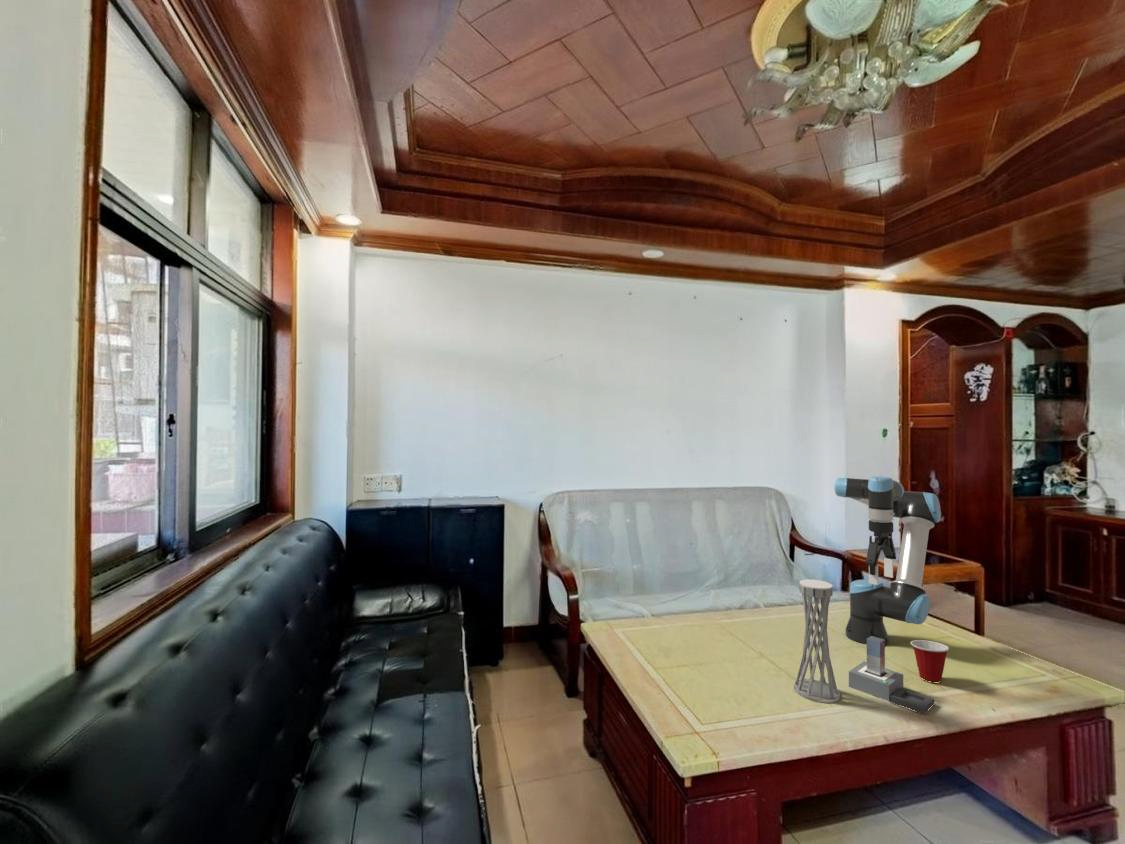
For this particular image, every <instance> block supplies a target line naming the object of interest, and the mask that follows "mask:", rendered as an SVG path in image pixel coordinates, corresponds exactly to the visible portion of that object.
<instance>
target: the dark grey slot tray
mask: <svg viewBox="0 0 1125 844" xmlns="http://www.w3.org/2000/svg"><path fill="white" fill-rule="evenodd" d="M890 702H893V703H895V704H894V705H896V704H898V705H901V706H904V707H907V708H910V709H912V710H915V711H917V712H920V713H922V714H921V715H923V714H925V713H926V712H927V711H928V709H929V708H930V707H931V706H932V705H933V704H934V705H935V698H934V697H931V696H927V695H925V694H922V693H918V692H917V691H913V690H910V689H908V688H905V687H903V688H902V687H901V688H900V689H898V690H897V691H896V692H895V693H894V694H892V695H891V696H890V701H889V703H890ZM893 703H892V704H893ZM898 705H897V706H898ZM901 706H900V707H901ZM904 707H903V708H904ZM912 710H911V711H912ZM917 712H916V713H917ZM928 712H929V711H928ZM928 712H927V713H928ZM920 713H919V714H920ZM927 713H926V714H927ZM926 714H925V715H926Z"/></svg>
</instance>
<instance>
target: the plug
mask: <svg viewBox="0 0 1125 844" xmlns="http://www.w3.org/2000/svg"><path fill="white" fill-rule="evenodd" d="M885 645H886V644H885V640H884V639H881V638H877V637H874V636H870V637H869V638H867V644H866V662H867V673H869V674H872V675H875V676H878V677H881V678H882V677H883V676H885V668H886V647H885Z"/></svg>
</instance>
